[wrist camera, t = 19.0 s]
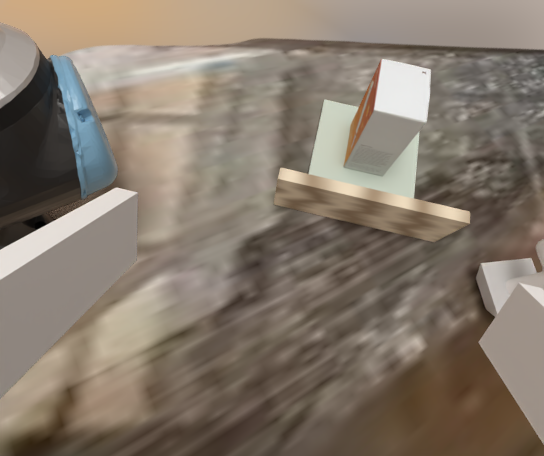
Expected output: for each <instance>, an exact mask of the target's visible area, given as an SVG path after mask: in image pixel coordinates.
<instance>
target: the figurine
mask: <svg viewBox="0 0 544 456" xmlns="http://www.w3.org/2000/svg"><path fill="white" fill-rule="evenodd" d="M536 251H537V254H538V256H539V259H540V262H541V264H542V267H543V270H542V272H540V273H537V272H536V269H535V267H534V264H533V262H532V259H531V258H527V259H518V260H508V261H498V262H488V263H481V264H480V267H479V270H478V273H477V276H476V280H477V283H478V287H479V290H480V293H481V296H482V299H483V302H484V305H485V309H486V310H487V311H488V312H490V313H491V314H492V315H493V316H495V317H496V316H497V314H498V313H499V311H500V310H501V308H502V307H503V305H504V304H505V302H506V301H507V299H508V298H509V296H510V295H511V293H512V292H513V290H514V289H515V287H516V286H517V284H518V283H522V284H526V285H531V286H535V287H539V288H542V289H543V290H544V239H543V240H541V241H540V242H538V243H537V245H536Z"/></svg>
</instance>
